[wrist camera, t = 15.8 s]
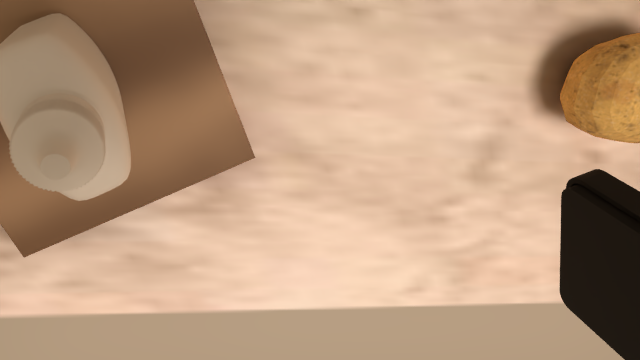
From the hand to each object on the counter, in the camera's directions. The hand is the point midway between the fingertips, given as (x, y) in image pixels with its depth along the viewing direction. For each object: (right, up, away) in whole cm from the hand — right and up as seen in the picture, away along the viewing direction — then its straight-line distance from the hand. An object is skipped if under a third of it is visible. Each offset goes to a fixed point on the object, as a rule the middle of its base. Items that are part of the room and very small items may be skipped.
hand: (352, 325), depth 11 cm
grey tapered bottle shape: (-11, +7, +15) cm, 20 cm away
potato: (+18, +10, +28) cm, 35 cm away
